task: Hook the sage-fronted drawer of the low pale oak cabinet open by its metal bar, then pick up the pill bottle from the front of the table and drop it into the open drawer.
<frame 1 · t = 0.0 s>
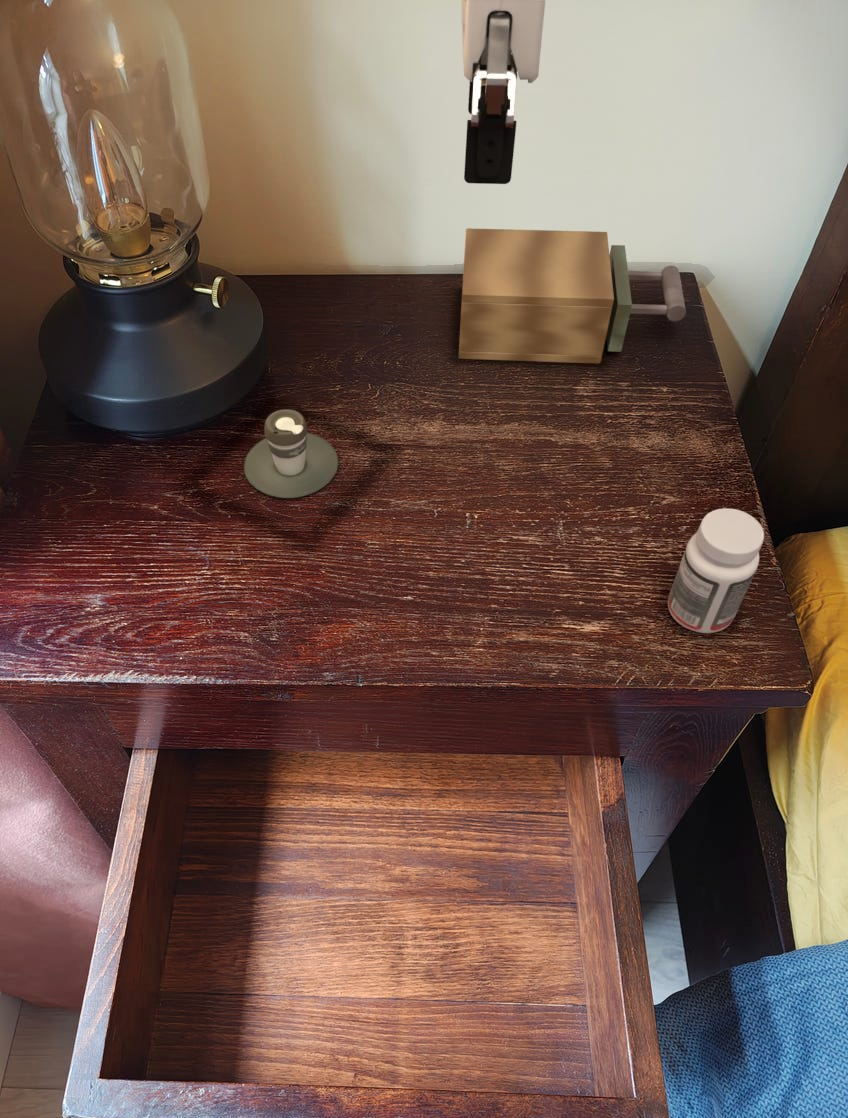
hand: (488, 145, 68), 20 cm above the nightstand, tool pointing down, fingers open, 9 cm apart
pill bottle: (699, 610, 68), on the nightstand
cabinet: (528, 326, 87), on the nightstand
coffee cup: (290, 470, 77), on the nightstand
drawer: (586, 297, 84), point 3 cm above the nightstand, slide at 0.5 cm
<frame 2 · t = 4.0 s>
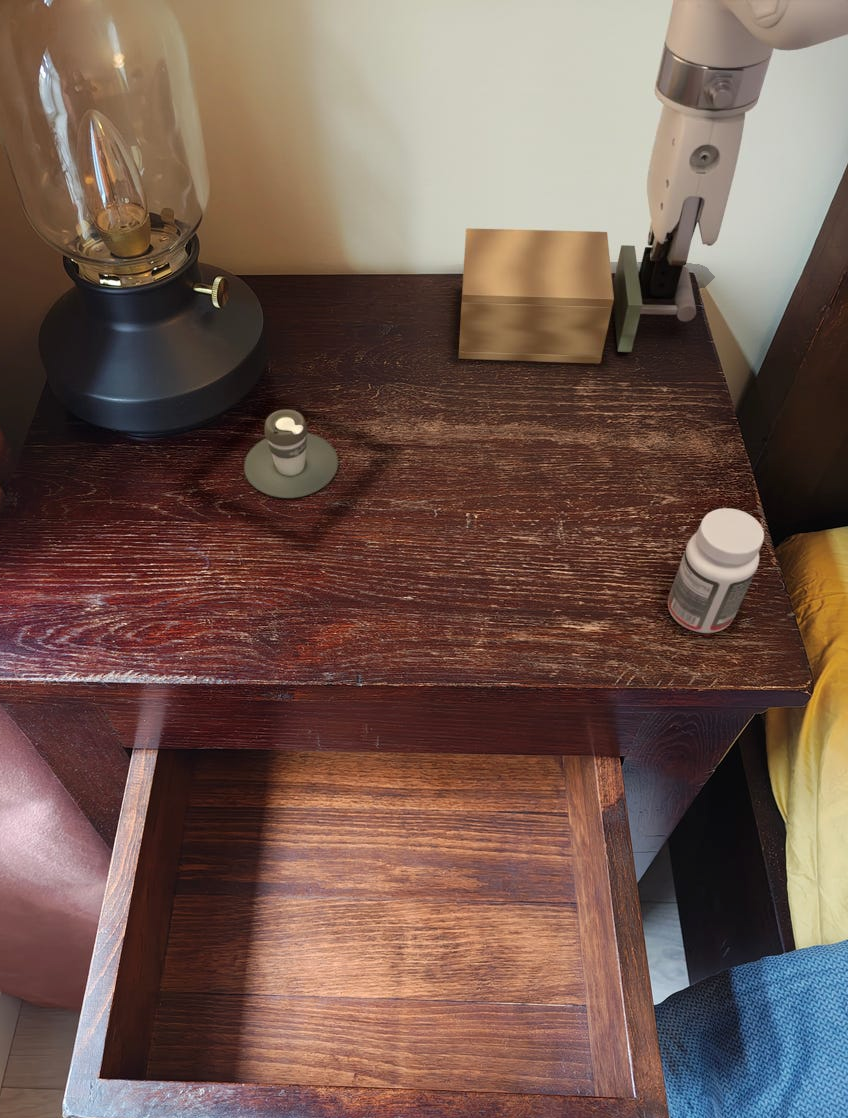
hand: (654, 293, 84), 4 cm above the nightstand, tool pointing down, fingers closed
drawer: (596, 297, 84), point 3 cm above the nightstand, slide at 1.4 cm
everything else where it was.
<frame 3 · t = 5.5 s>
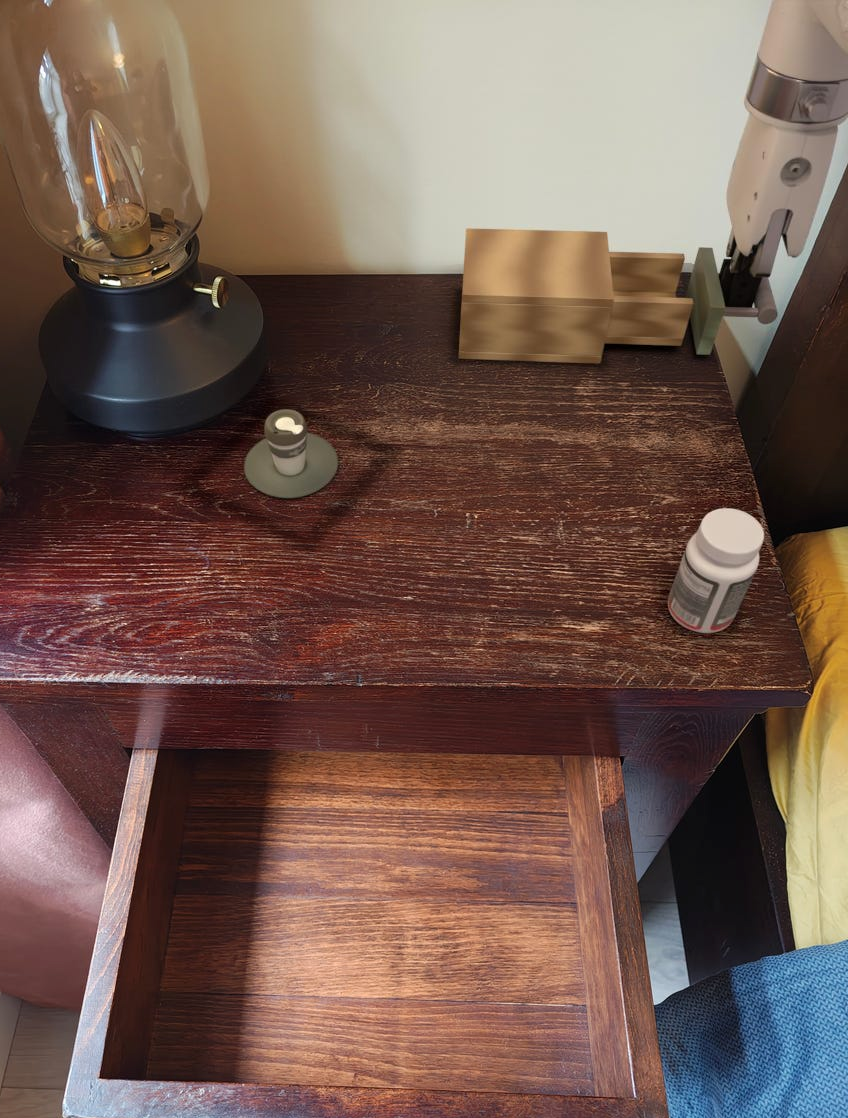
hand: (730, 304, 84), 3 cm above the nightstand, tool pointing down, fingers closed
drawer: (674, 299, 84), point 3 cm above the nightstand, slide at 8.2 cm, touching gripper
everything else where it was.
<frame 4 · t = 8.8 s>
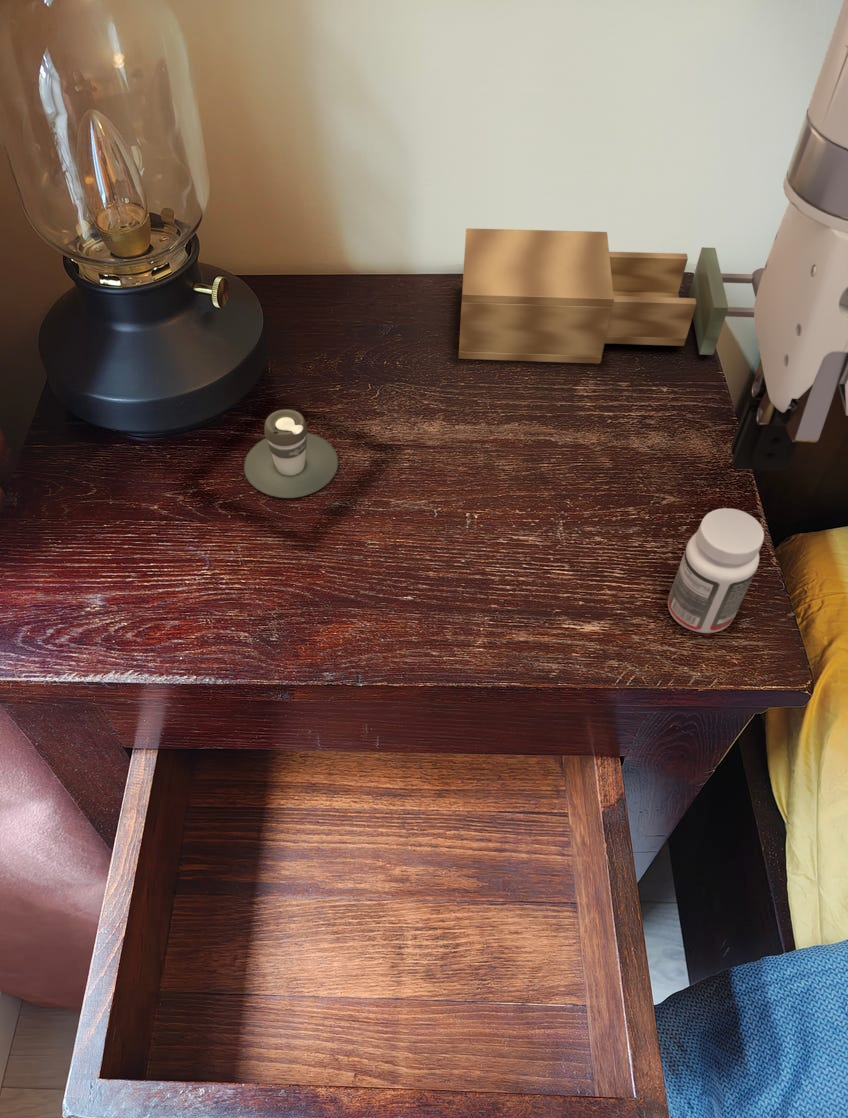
hand: (757, 460, 58), 13 cm above the nightstand, tool pointing down, fingers closed
drawer: (676, 299, 84), point 3 cm above the nightstand, slide at 8.5 cm
everything else where it was.
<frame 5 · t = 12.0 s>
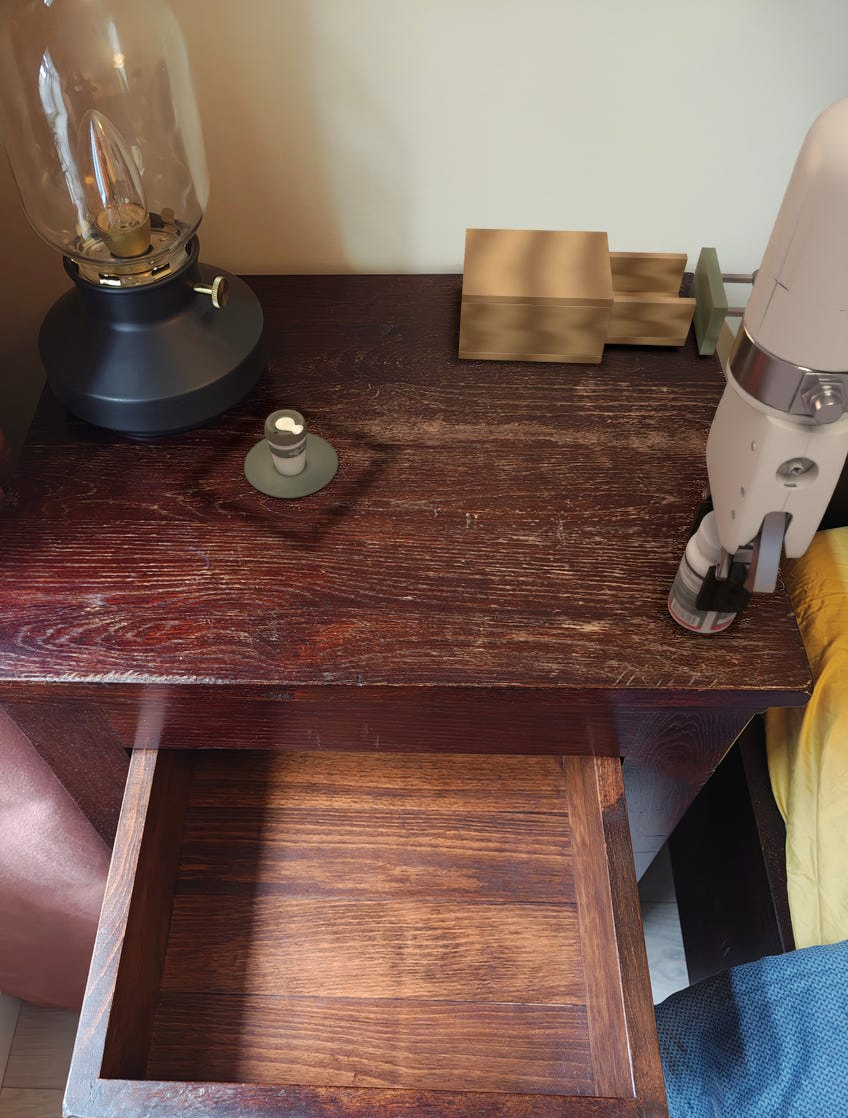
hand: (714, 574, 65), 4 cm above the nightstand, tool pointing down, fingers closed on pill bottle, 4 cm apart
pill bottle: (699, 610, 68), on the nightstand, touching gripper
everything else where it was.
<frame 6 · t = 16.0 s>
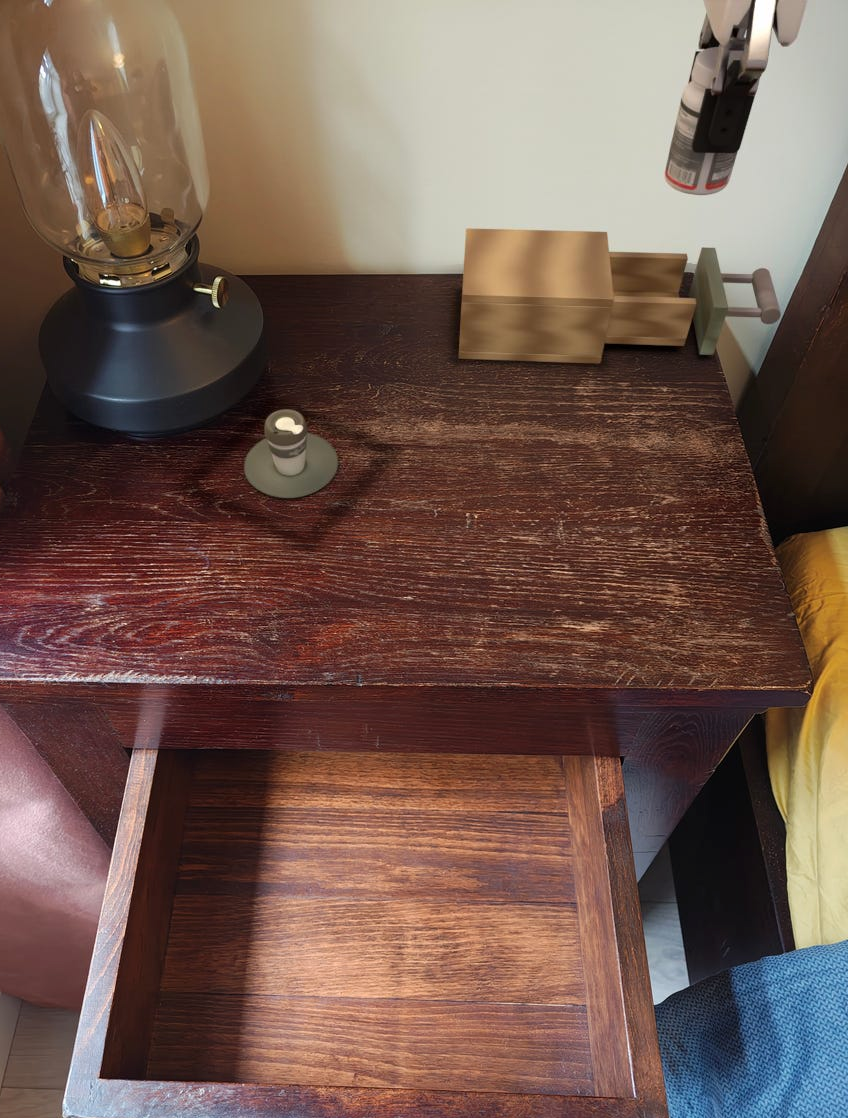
hand: (710, 128, 67), 20 cm above the nightstand, tool pointing down, fingers closed on pill bottle, 4 cm apart
pill bottle: (694, 183, 70), point 16 cm above the nightstand, touching gripper
everything else where it was.
when the fingers open (6 cm above the nightstand, at t = 20.0 s): pill bottle stays where it is, resting on drawer.
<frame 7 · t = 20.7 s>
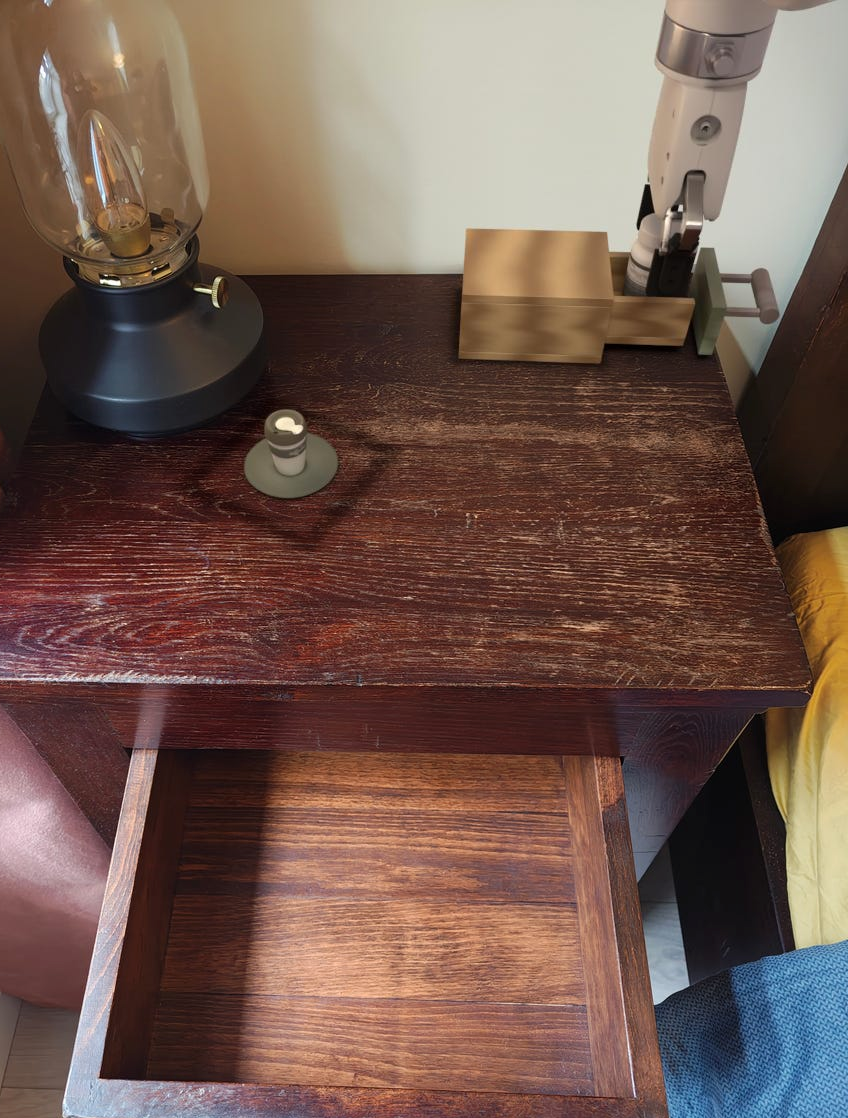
hand: (659, 261, 81), 7 cm above the nightstand, tool pointing down, fingers open, 9 cm apart
pill bottle: (644, 313, 85), point 2 cm above the nightstand, touching drawer
drawer: (675, 299, 84), point 3 cm above the nightstand, slide at 8.4 cm, touching pill bottle
everything else where it was.
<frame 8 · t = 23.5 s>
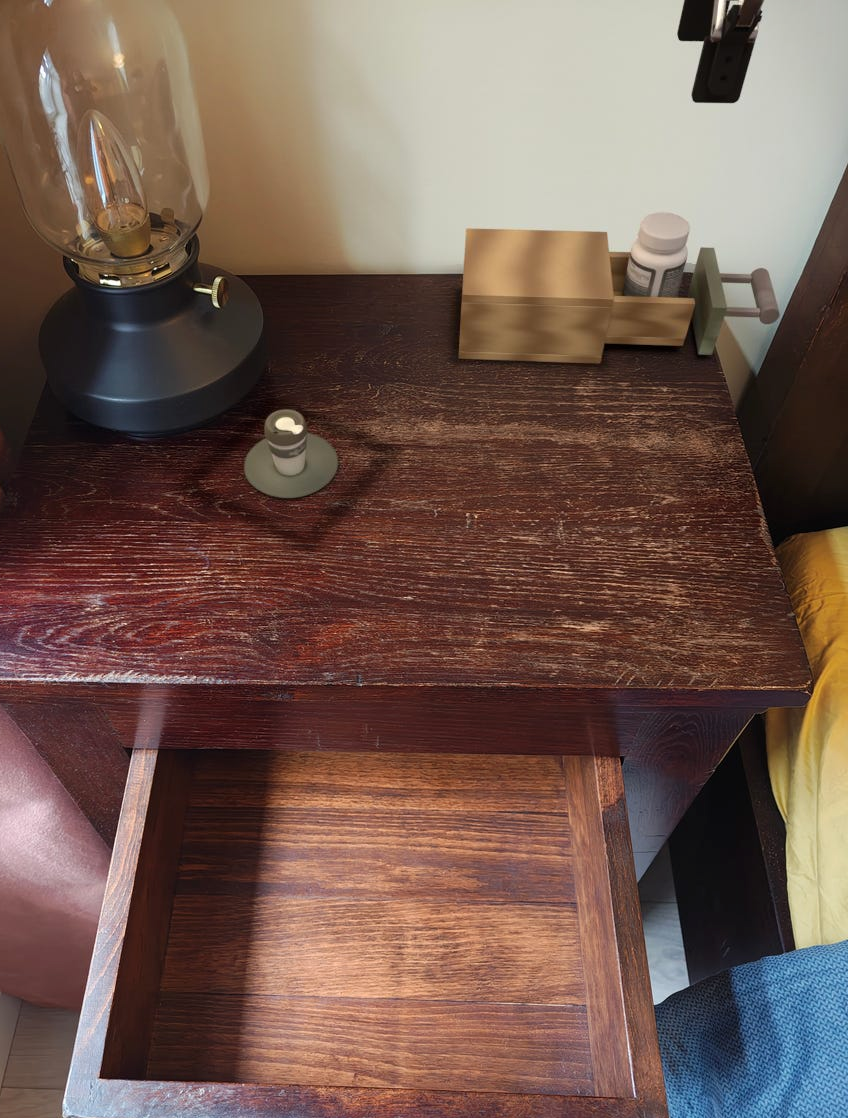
hand: (705, 69, 68), 22 cm above the nightstand, tool pointing down, fingers open, 9 cm apart
nothing on the nightstand moved.
at the end: drawer slide at 8.4 cm; pill bottle inside the target area in the drawer (0.2 cm from its centre), point 1.8 cm above the cabinet's base; the gripper is holding nothing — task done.
